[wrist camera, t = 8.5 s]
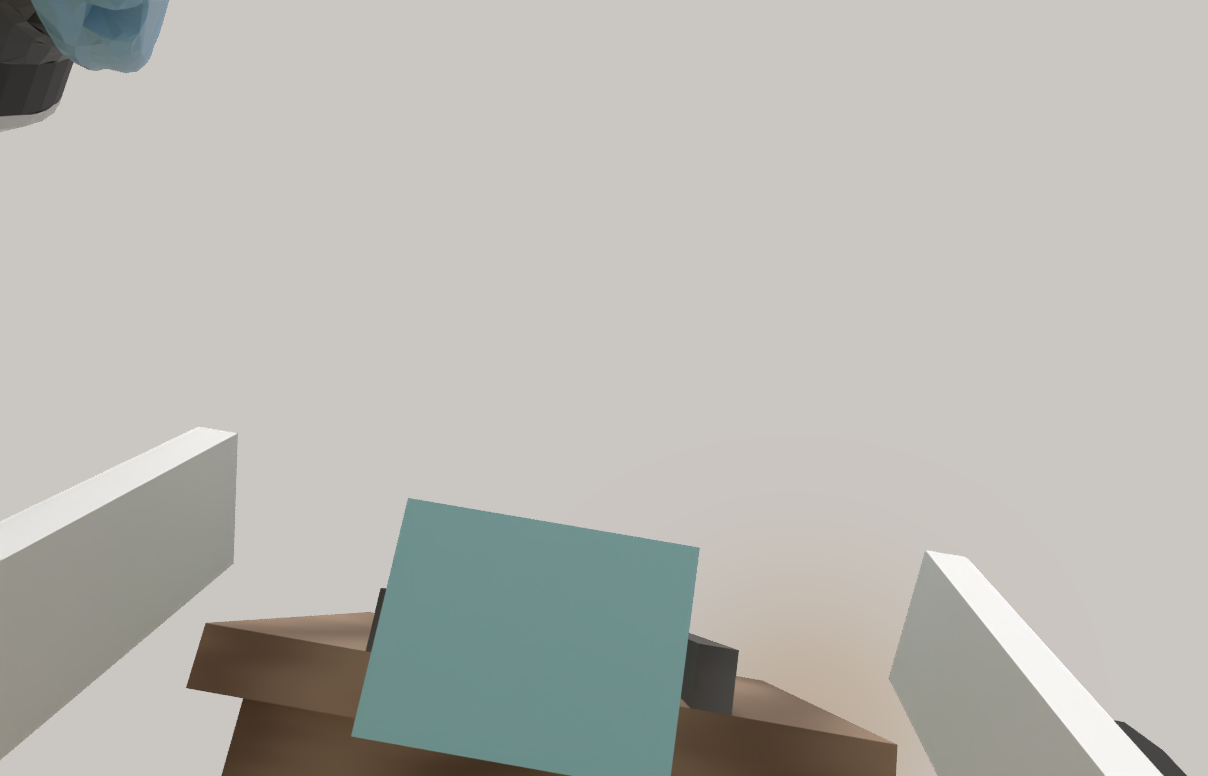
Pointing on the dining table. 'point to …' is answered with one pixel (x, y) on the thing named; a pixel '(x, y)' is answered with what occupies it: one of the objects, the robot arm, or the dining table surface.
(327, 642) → the wood-grain storage bin
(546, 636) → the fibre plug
